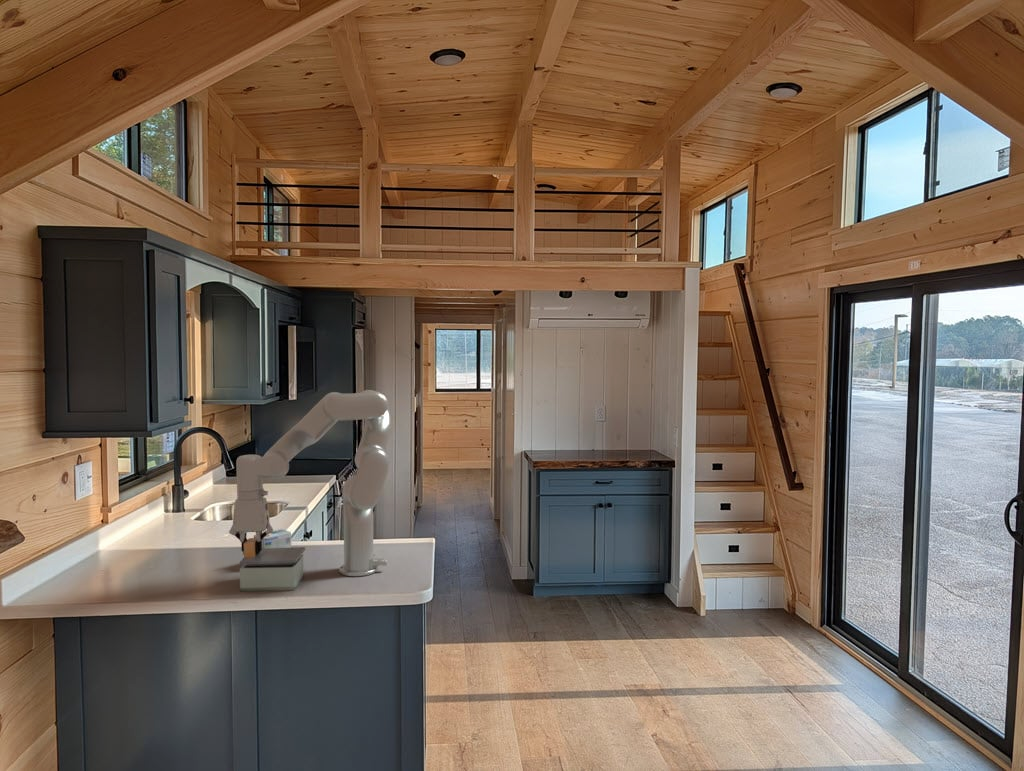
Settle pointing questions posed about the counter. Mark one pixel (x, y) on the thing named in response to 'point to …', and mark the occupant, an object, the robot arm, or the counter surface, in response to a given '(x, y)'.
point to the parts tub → (271, 577)
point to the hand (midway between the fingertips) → (251, 552)
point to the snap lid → (270, 555)
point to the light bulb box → (277, 539)
